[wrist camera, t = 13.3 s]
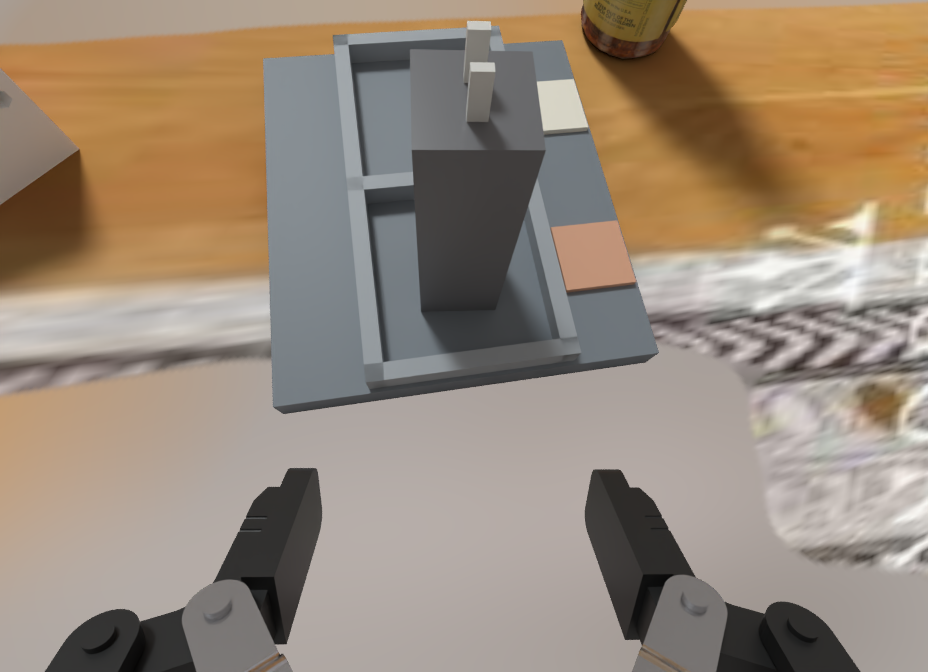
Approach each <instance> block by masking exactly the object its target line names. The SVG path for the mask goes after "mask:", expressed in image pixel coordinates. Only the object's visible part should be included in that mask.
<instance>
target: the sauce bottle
mask: <svg viewBox="0 0 928 672" xmlns="http://www.w3.org/2000/svg"><path fill="white" fill-rule="evenodd" d="M686 1H687V0H583V7H582V10H581V20H582V27H583V29H584V32H585V34H586V36H587V38H588V40H590V41H591V42H592V43H593V44H594V46H596V47H597V48H599V49H600V50H601V51H603V52H606V53H608V54H609V55H612V56H615V57H619V58H621V59H625V58H636V57H640V56H645V55H649V54H651V53H654V52H655V51H656V50H658V49H659V48H660V47H661V45H662V44H663V43H664V41H665V39H666V37H667V35H668V33H669V31H670V29H671V28H672V27H673V26H674V25H675V23H676V21H677V20H678V18H679V16H680V14H681V12H682V10H683V7H684V5H685V3H686Z"/></svg>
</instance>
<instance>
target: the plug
mask: <svg viewBox="0 0 928 672" xmlns="http://www.w3.org/2000/svg"><path fill="white" fill-rule="evenodd" d="M490 38H491V21H467V29H466V43H465V50H424V49H410V85H411V144H412V165H413V183H414V200H415V218H416V235H417V252H418V270H419V287H420V304H421V312H430V311H475V310H496V306H497V303H498V300H499V297H500V294H501V291H502V287H503V284H504V281H505V278H506V275H507V272H508V269H509V265H510V262H511V259H512V256H513V253H514V250H515V246H516V243H517V240H518V237H519V234H520V231H521V227H522V224H523V221H524V218H525V215H526V212H527V208H528V205H529V202H530V199H531V196H532V193H533V189H534V186H535V183H536V180H537V177H538V174H539V171H540V167H541V164H542V161H543V158H544V155H545V152H546V147H545V140H544V132H543V125H542V117H541V110H540V103H539V95H538V88H537V80H536V73H535V65H534V58H533V52H531V51H489V46H490Z"/></svg>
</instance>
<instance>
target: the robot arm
mask: <svg viewBox="0 0 928 672" xmlns="http://www.w3.org/2000/svg"><path fill="white" fill-rule="evenodd" d="M321 521H322V505H321V496H320V488H319V480H318V472H317V469H316V468H290V469H288V471H287V473H286V475H285V477H284V479H283V481H282V484H281V486H280V487H268V488H267V489H265V490H264V491H263V492H262V493H261V494H260V495H259V496H258V497H257V498H256V499H255V500H254V501H253V503H252V505H251V507H250V509H249V512H248V513H247V516H246V519H245V520H244V522H243V524H242V526H241V528H240V532H238V534H237V536H236V538H235V540H234V542H233V544H232V546H231V548H230V550H229V552H228V554H227V556H226V558H225V561H224V563H223V564H222V566H221V569H220V571H219V573H218V575H217V577H216V579H215V580H214V582H213V584H210V585H208V586H207V587H205V588H203V589H202V590H200V591H199V592H198V593H197V594H196V595H194V596H193V597H192V599H191V600H190V601H189V602H188V604H187V606H186V607H184V608H182V609H180V610H177V611H174V612H171V613H168V614H165V615H161V616H158V617H154V618H151V619H148V620H144V621H141V622H140V621H139V618H138V617H137V615H136V614H135V613H134V612H132V611H130V610H125V609H116V610H111V611H107V612H104V613H101V614H99V615H97V616H95V617H92V618H91V619H89V620H87V621H86V622H84V623H83V624H82V625H81V626H79V627H78V628H77V629H76V630H75V631H73V632H72V633H71V635H70V636H69V637H68V638H67V639H66V641H65V642H64V643H63V645H62V646H61V648H60V649H59V651H58V652H57V654H56V655H55V657H54V659H53V660H52V662H51V663H50V665H49V666H48V668H47V669H46V671H45V672H292V669H291V667H290V665H289V663H288V661H287V659H286V658H285V656H284V655H283V654H281V655H280V654H279V652H278V650H277V648H276V646H275V644H287V640H288V637H289V634H290V631H291V627H292V624H293V620H294V617H295V613H296V610H297V607H298V604H299V600H300V596H301V593H302V590H303V586H304V583H305V580H306V576H307V573H308V570H309V566H310V563H311V559H312V556H313V553H314V549H315V546H316V543H317V539H318V535H319V532H320V528H321ZM585 522H586V528H587V532H588V535H589V538H590V541H591V543H592V546H593V549H594V552H595V555H596V558H597V561H598V564H599V566H600V569H601V572H602V575H603V578H604V581H605V584H606V587H607V589H608V592H609V595H610V598H611V601H612V604H613V606H614V609H615V612H616V615H617V618H618V621H619V624H620V627H621V629H622V632H623V635H624V638H625V640H640V641H641V644H642V647H641V649H640V651H639V654H638V657H637V660H636V662H635V666H634V668H633V671H632V672H860V671H859V669H858V668H857V667H856V665H855V663H854V662H853V660H852V659H851V658H850V656H849V655H848V653H847V652H846V650H845V649H844V647H843V646H842V645H841V643H840V642H839V641H838V639H837V638H836V636H835V635H834V633H833V632H832V631H831V629H830V628H829V627H828V626H827V624H826V623H825V622H824V621H823V620H821V619H820V618H819V617H818V616H816V615H815V614H814V613H812V612H810V611H809V610H807V609H805V608H803V607H801V606H799V605H796V604H793V603H789V602H776V603H773V604H771V605H770V606H769V607H768V608H767V610H766V613H765V614H763V613H759V612H756V611H752V610H749V609H745V608H741V607H738V606H734V605H731V604H729V603H726V602H724V601H723V599H722V597H721V596H720V595H719V594H718V592H717V591H716V590H715V589H714V588H712V587H711V586H710V585H709V584H707V583H706V582H704V581H702V580H700V579H698V578H696V577H695V575H694V573H693V572H692V570H691V568H690V566H689V564H688V563H687V561H686V559H685V557H684V555H683V553H682V552H681V550H680V548H679V546H678V544H677V543H676V541H675V539H674V537H673V535H672V533H671V532H670V531H669V530H668V526H667V525H666V523H665V521H664V519H662V515H661V513H660V512H659V510H658V508H657V506H656V504H655V503H654V501H653V500H652V499H651V498H650V497H649V496H648V495H647V494H646V493H645V492H643V491H642V490H641V489H640V488H630V487H629V485H628V483H627V481H626V479H625V477H624V475H623V473H622V472H621V470H593V472H592V475H591V480H590V485H589V491H588V496H587V501H586V507H585Z"/></svg>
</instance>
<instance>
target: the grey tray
mask: <svg viewBox="0 0 928 672" xmlns="http://www.w3.org/2000/svg"><path fill="white" fill-rule="evenodd" d="M466 29H467V28H451V29H433V30H416V31H398V32H381V33H363V34H345V35H333V42H334V52H335V54H331V55H315V56H299V57H282V58H266V59H263V66H264V102H265V138H266V173H267V209H268V245H269V281H270V316H271V352H272V386H273V387H272V388H273V407H274V408H275V409H277V410H278V411H280V412H281V413H283V414H287V413H294V412H301V411H307V410H314V409H322V408H328V407H335V406H343V405H349V404H357V403H364V402H371V401H378V400H385V399H392V398H399V397H406V396H413V395H420V394H427V393H434V392H441V391H447V390H455V389H462V388H469V387H476V386H482V385H490V384H497V383H504V382H511V381H518V380H525V379H532V378H539V377H547V376H554V375H559V374H567V373H575V372H582V371H588V370H596V369H603V368H609V367H617V366H623V365H630V364H637V363H645V362H646V361H648V360H649V359H651V358H652V357H653V356H655V355H657V354H658V353H659V352H658V348H657V345H656V342H655V339H654V335H653V332H652V329H651V326H650V323H649V319H648V316H647V313H646V310H645V306H644V303H643V300H642V297H641V293H640V290H639V287H638V284H637V280H636V277H635V274H634V271H633V268H632V264H631V261H630V258H629V255H628V251H627V248H626V245H625V242H624V238H623V235H622V232H621V229H620V226H619V222H618V219H617V216H616V213H615V209H614V206H613V203H612V200H611V196H610V193H609V190H608V187H607V184H606V180H605V177H604V174H603V171H602V167H601V164H600V161H599V158H598V154H597V151H596V148H595V145H594V141H593V138H592V135H591V132H590V129H589V125H588V122H587V119H586V116H585V112H584V109H583V106H582V103H581V99H580V96H579V93H578V90H577V87H576V83H575V80H574V77H573V74H572V70H571V67H570V64H569V61H568V57H567V54H566V51H565V48H564V45H563V41H562V40H560V41H544V42H527V43H511V44H503V41H502V37H501V33H500V29H499V26H491V38H490V46H489V51H531V52H533V58H534V65H535V73H536V80H537V88H538V95H539V103H540V110H541V117H542V125H543V132H544V140H545V147H546V152H545V155H544V158H543V161H542V164H541V167H540V171H539V174H538V177H537V180H536V183H535V186H534V189H533V193H532V196H531V199H530V202H529V205H528V208H527V212H526V215H525V218H524V221H523V224H522V227H521V231H520V234H519V237H518V240H517V243H516V246H515V250H514V253H513V256H512V259H511V262H510V265H509V269H508V272H507V275H506V278H505V281H504V284H503V287H502V291H501V294H500V297H499V300H498V303H497V306H496V310H475V311H430V312H421V304H420V287H419V270H418V252H417V235H416V218H415V200H414V183H413V165H412V144H411V85H410V49H424V50H465V43H466Z"/></svg>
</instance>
